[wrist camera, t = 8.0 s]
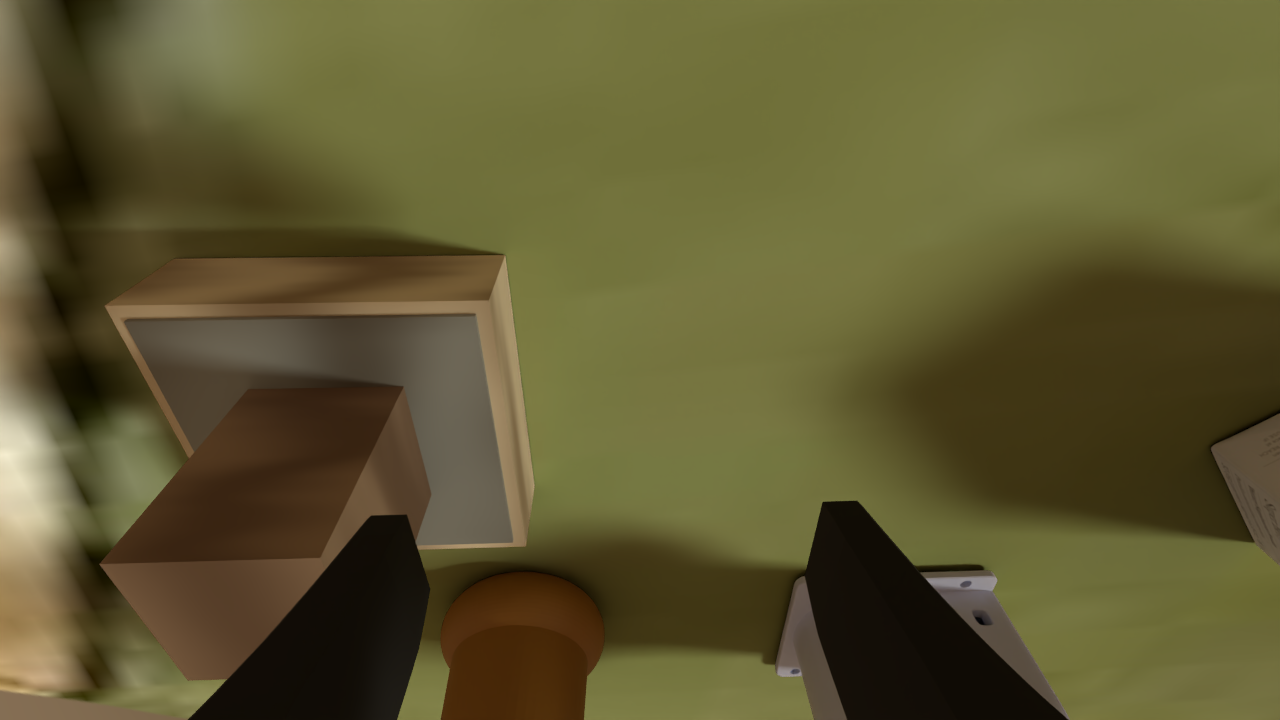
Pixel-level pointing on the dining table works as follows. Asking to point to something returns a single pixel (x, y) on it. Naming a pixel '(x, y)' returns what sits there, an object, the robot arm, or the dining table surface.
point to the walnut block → (265, 517)
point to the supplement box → (1255, 480)
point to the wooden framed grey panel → (354, 362)
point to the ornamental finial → (520, 649)
